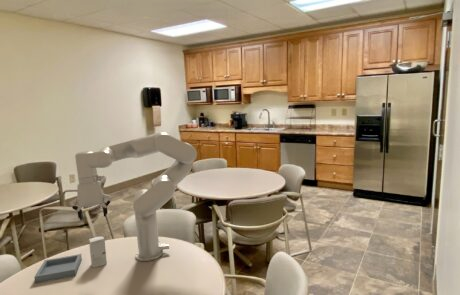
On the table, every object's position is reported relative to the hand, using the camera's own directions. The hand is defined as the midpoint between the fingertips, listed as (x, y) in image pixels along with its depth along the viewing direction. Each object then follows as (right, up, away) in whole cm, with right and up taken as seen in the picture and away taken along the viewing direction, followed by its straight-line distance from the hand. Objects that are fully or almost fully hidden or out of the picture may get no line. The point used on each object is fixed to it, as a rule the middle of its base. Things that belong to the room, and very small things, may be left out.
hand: (93, 217), depth 132 cm
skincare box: (+1, -22, +3) cm, 22 cm away
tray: (-14, -23, -1) cm, 27 cm away
